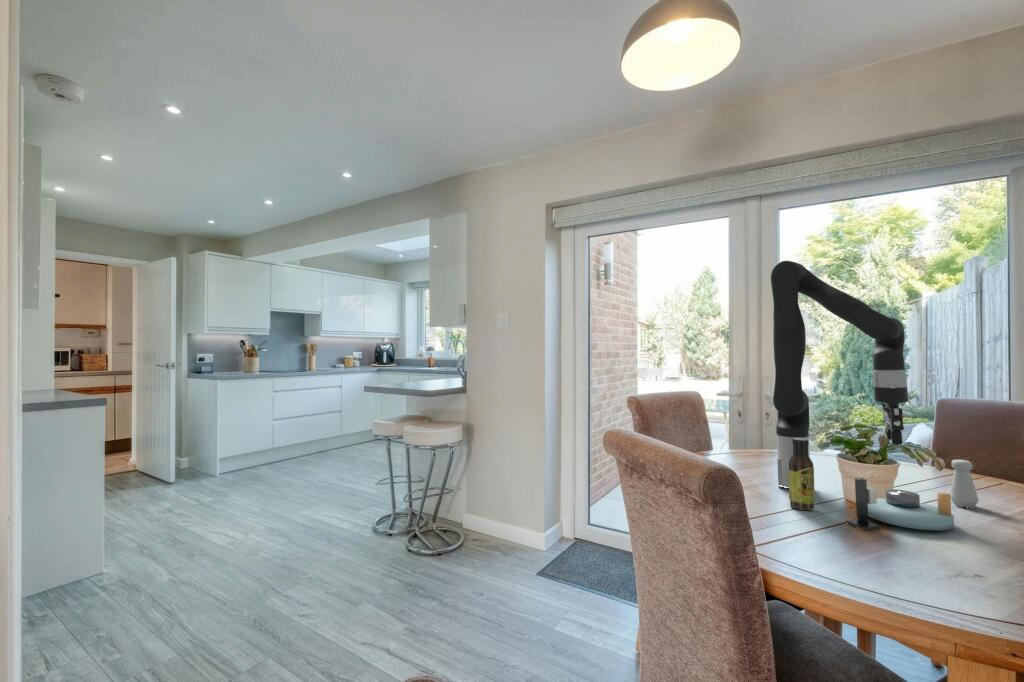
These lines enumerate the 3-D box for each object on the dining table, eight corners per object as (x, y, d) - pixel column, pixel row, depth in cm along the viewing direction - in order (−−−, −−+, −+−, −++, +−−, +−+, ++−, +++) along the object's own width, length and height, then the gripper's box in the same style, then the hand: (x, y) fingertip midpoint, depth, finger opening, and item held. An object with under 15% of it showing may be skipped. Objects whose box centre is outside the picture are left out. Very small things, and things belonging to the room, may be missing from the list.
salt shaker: (966, 503, 131) (963, 458, 131) (985, 509, 125) (982, 462, 126) (944, 502, 132) (942, 458, 132) (962, 509, 126) (959, 462, 126)
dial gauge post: (863, 530, 113) (861, 482, 114) (845, 523, 118) (843, 477, 119) (885, 528, 114) (882, 480, 115) (866, 521, 119) (864, 475, 120)
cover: (888, 506, 121) (887, 493, 121) (883, 498, 127) (883, 486, 127) (922, 510, 117) (922, 497, 118) (916, 502, 123) (916, 490, 124)
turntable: (867, 522, 116) (866, 494, 116) (859, 501, 131) (858, 477, 131) (964, 535, 106) (962, 505, 106) (943, 512, 121) (941, 485, 121)
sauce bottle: (805, 512, 127) (802, 441, 127) (784, 506, 132) (781, 438, 133) (820, 509, 129) (817, 439, 130) (799, 503, 135) (796, 436, 135)
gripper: (870, 384, 139) (874, 437, 138) (877, 387, 127) (881, 445, 126) (901, 383, 135) (906, 438, 135) (912, 387, 123) (917, 447, 122)
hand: (894, 441), depth 130 cm, fingers open, 8 cm apart
